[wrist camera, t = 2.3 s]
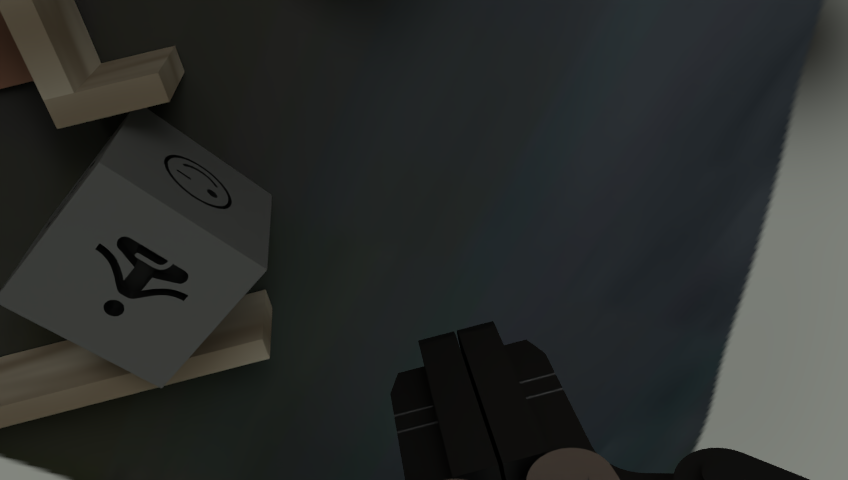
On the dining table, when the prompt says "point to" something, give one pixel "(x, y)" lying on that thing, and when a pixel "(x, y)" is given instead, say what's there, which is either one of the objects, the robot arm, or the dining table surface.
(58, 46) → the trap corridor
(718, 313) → the dining table surface
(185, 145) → the dice cube
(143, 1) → the dining table surface
